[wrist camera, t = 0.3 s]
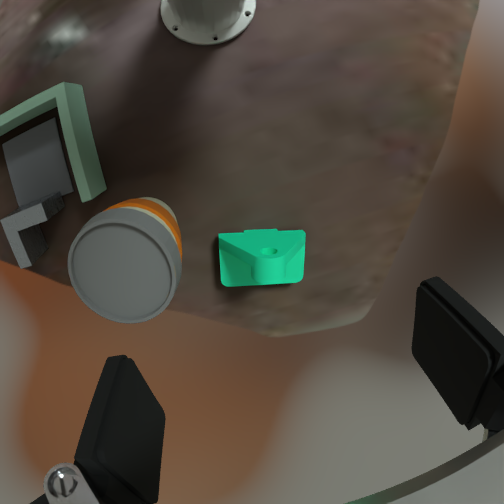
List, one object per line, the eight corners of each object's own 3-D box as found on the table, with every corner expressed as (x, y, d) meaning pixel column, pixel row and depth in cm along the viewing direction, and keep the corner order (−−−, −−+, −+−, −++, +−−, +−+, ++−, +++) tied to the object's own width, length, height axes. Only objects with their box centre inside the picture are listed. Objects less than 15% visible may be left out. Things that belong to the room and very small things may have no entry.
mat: (3, 144, 36) (2, 144, 36) (55, 117, 36) (54, 117, 36) (21, 211, 41) (20, 211, 40) (74, 191, 41) (73, 191, 41)
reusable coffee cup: (162, 281, 48) (144, 343, 34) (93, 238, 44) (51, 286, 30) (207, 216, 45) (203, 261, 31) (133, 167, 41) (94, 190, 27)
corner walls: (-16, 136, 35) (-38, 140, 29) (82, 85, 35) (63, 81, 30) (9, 224, 41) (-11, 237, 36) (106, 189, 41) (91, 199, 36)
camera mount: (221, 278, 49) (222, 317, 39) (218, 230, 46) (218, 261, 36) (298, 274, 50) (316, 310, 40) (301, 227, 47) (321, 255, 37)
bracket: (20, 206, 40) (0, 220, 35) (59, 190, 40) (41, 203, 35) (37, 251, 44) (20, 268, 38) (77, 239, 44) (62, 256, 38)
